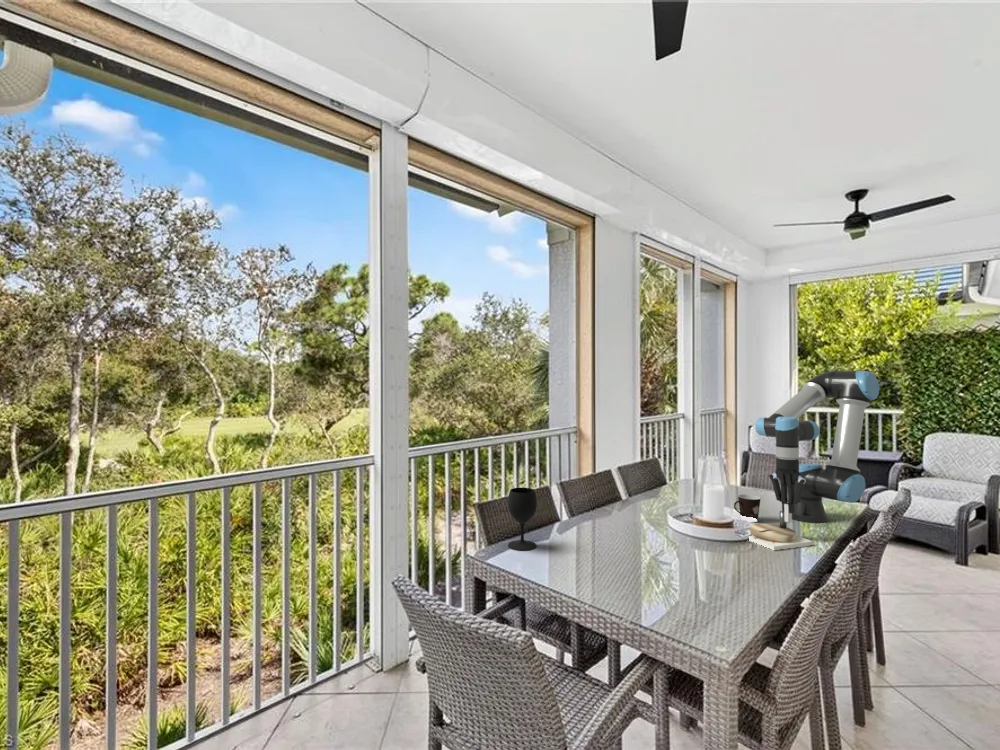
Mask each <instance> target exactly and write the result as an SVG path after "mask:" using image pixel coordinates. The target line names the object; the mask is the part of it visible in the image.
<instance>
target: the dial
mask: <svg viewBox="0 0 1000 750" xmlns="http://www.w3.org/2000/svg"><path fill="white" fill-rule="evenodd" d="M749 529H750V531H751V534H752V535H753V536H755V537H758V538H761V539H765V540H770V541H778V542H790V541H794V540H795V539H796V536H797V533H796V530H794V529H792V528H790V527H788V522H785V516H784V512H783V511H782V510H779V524H774V523H752V524H751V525H749Z"/></svg>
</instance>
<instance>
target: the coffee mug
mask: <svg viewBox="0 0 1000 750" xmlns="http://www.w3.org/2000/svg"><path fill="white" fill-rule="evenodd" d="M761 500H762V499H761V497H760V496H758V495H753V494H737V501H735V502H734V504H733V508H734V509H735V511H736V512H737V513H739V516H740V515H742V516H746V517H753V518H756V519H757V520H759V516H760V515H759V513H760V505H761ZM737 503H738V507H739V510H738V508H737V506H736V505H737Z"/></svg>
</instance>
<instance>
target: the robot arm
mask: <svg viewBox="0 0 1000 750" xmlns="http://www.w3.org/2000/svg"><path fill="white" fill-rule="evenodd" d="M879 394H880V385H879V382H878V378H877V377H876V375H875V374H873V372H872V371H868V370H830V371H826V372H823V373H820V374H818V375H815V376H814V377H812V378H810V379H809V380H808V381H806V382H805V383H804V384H803V385H802V387H801V390H800V391H798V392H797V393H796V394H795V395H793V396H792V398H789V400H788V401H786V402H785V403H784V404H783V405H781V407H779V408H778V409H777V410H776V411H774V412H773V413H772V414H771V415H769V417H765V416H764V417H758V419H757V420H756V422H755V424H754V426H755V427H754V428H755V432H756V433H757V434H758V435H760V436H763V437H768V438H769V437H770V438H775V456H776V458H775V467H776V469H775V472H774V473H772V474H771V473H770V474H769V475H768V477H769V478H770V480H771V483H772V486H773V490H774V494H775V495H774V496H775V499H776V501H779V502H780V503H781V511H783V512H784V516H785V522H787V523H790V522H792V521H793V520H796V521H799V522H805V523H826V522H827V521H828V516H827V512H826V510H825V507H824V504H823V498H825V499H830V500H834V501H839V502H841V503H844V502H845V503H850V504H851V503H857V502H858V501H859V500H860V499H861V498H862V497H863V495H864V494H865V490H866V480H865V477H864V476H863V475H861V470H860V469H859V468H858V466H857V464H858V459H859V458H858V457H859V453H860V452H859V451H860V444H861V438H862V430H863V425H864V424H863V423H864V417H865V409H866V408H868V407H869V406H870V405H871V401H874V400H876V399H878V396H879ZM832 398H833V399H835V401H836V402H837V404H838V405H839V407H838V415H837V421H836V428H835V435H834V441H833V447H832V454H831V460H830V462H828V463H826V465H825V468H824V467H823V465H822V464H819V463H800V460H799V458H800V451H799V449H800V448H799V447H800V444H799V443H800V442H803V441H807V442H808V441H813V440H816V439H817V438H818V437H819V436H820V431H821V429H820V426H819V425H818V424H817V423H816V422H815V421H813V420H806V419H805V420H799V418H800V417H802V416H803V415H804V414H805V413H806V412H807V411H808V410H809V409H810V408H812V407H813V406H814V405H815V404H816V403H821V402H822V401H824V400H825V399H832Z"/></svg>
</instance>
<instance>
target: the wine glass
mask: <svg viewBox="0 0 1000 750" xmlns="http://www.w3.org/2000/svg"><path fill="white" fill-rule="evenodd" d="M507 498H508V499H507V508H508V512H509V514H510V516H511V517H512V518H513V520H515V521H516V522H518V523H519V526H520V539H517V540H512V541H510V542H508V544H507V548H509V549H511V550H513V551H518V552H528V551H533V550H535V549H536V548H537V546H538V545H537V543H535V542H534V541H531V540H527V539H525V538H524V535H525V533H524V531H525V529H524V528H525V524H526V523H527V522H529V521H530V520H531V519H532V518H533V517H534V515H535V514H536V511H537V507H538V499H537V494H536V491H535V489H533V488H531V487H514V488H511V489H510V490H509V494H508V497H507Z"/></svg>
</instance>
